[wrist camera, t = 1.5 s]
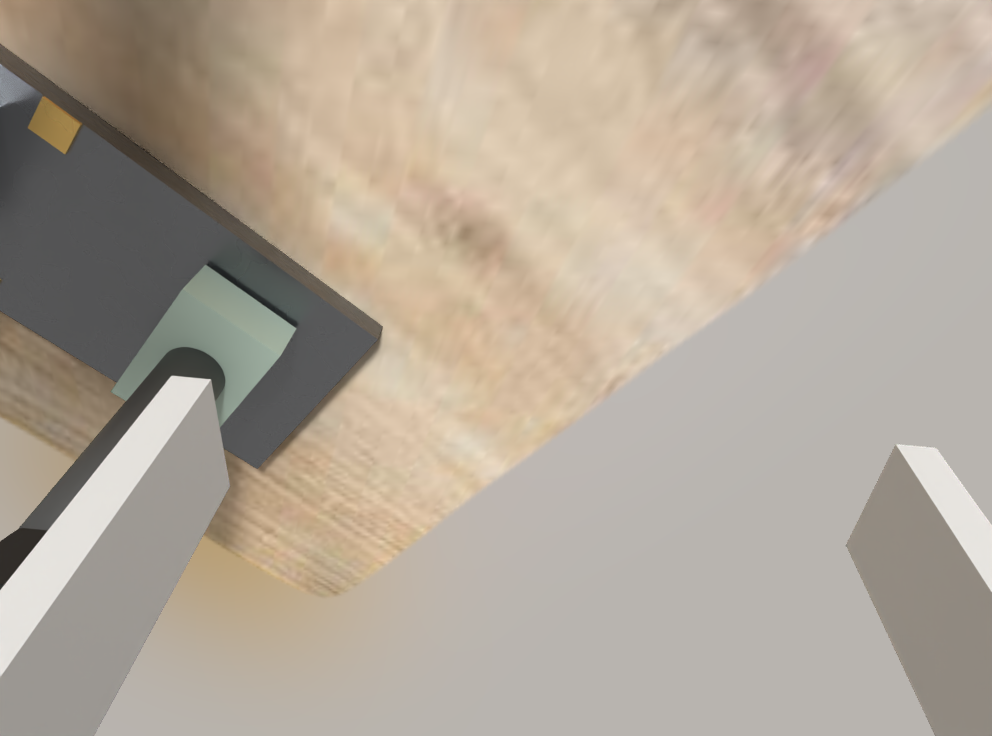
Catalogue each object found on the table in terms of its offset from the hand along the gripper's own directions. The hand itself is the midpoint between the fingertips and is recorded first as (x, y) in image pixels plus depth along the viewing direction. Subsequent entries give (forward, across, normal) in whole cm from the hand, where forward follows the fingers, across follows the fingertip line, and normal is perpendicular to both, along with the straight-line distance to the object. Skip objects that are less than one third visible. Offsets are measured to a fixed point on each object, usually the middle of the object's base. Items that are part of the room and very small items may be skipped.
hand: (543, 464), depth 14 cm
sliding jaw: (+24, -18, -14) cm, 34 cm away
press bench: (+26, -23, -10) cm, 36 cm away
